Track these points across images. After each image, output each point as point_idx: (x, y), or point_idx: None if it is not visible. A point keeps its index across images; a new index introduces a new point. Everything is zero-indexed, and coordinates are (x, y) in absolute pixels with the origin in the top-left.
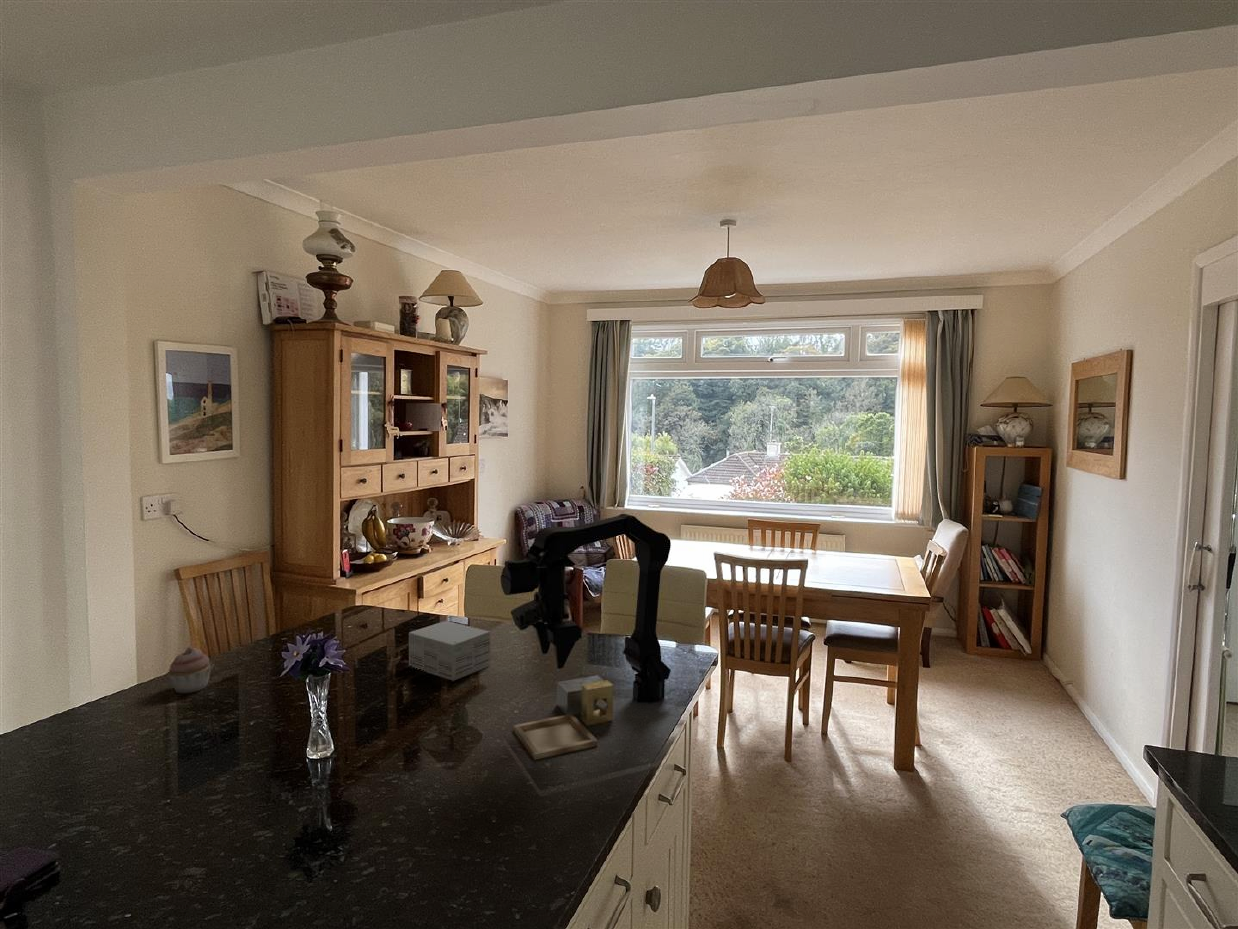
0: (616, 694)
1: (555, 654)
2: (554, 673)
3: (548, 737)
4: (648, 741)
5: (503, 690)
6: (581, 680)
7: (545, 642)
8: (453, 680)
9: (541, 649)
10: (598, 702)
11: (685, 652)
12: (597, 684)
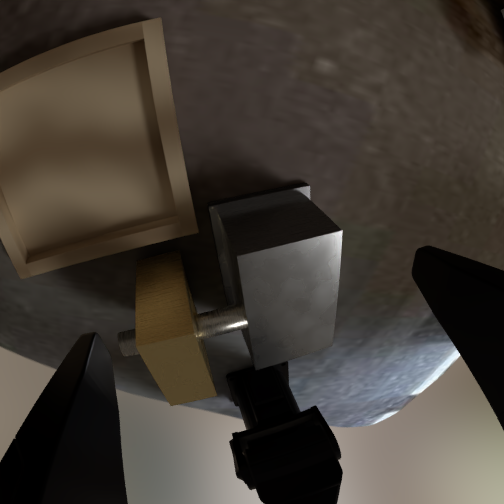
0: None
1: (48, 436)
2: (459, 222)
3: (74, 136)
4: None
5: (446, 82)
6: (319, 307)
7: (469, 314)
8: (501, 10)
9: (448, 255)
10: None
11: (389, 406)
12: (184, 375)
